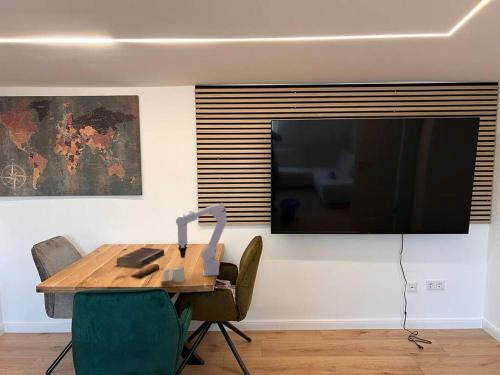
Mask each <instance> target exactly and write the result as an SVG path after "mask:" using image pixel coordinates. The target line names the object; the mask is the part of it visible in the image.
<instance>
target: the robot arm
mask: <svg viewBox="0 0 500 375" xmlns="http://www.w3.org/2000/svg"><path fill="white" fill-rule="evenodd" d="M206 214H208V215H212V217H214V219H215V220H216V225H215V228H214V230H213V232H212V235H211V237H210V240H209V242H208V244H207V246H206V247H205V249H204V250H203V252H202V253H201V258H202V260H203V271H202V276H203V277H208V276H219V275H220V263H219V258H216V255H217V249H218V244H219V241H220V240H221V236H222V234H223V232H224V229H225V227H226V224H227V221H228V219H227V208H226V207H225V205H224V204H222V203H218V204H213V205H210V206H207V207H205V208H203V209H200V210H198V211H194V210H193V211H189V212H188V213H186V214H185V213H183V214H182V215H181V216H178V217H177V218H176V220H175V224H176V226H177V241H176V242H175V244H177V245H178V246H177V248H178V251H179V253H180V258H181V259H185V258H186V252H187V249H188V246H187V245H188V224H190V223H192V222H195V221H197V220H198V218H199V217H201V216H204V215H206Z"/></svg>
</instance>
